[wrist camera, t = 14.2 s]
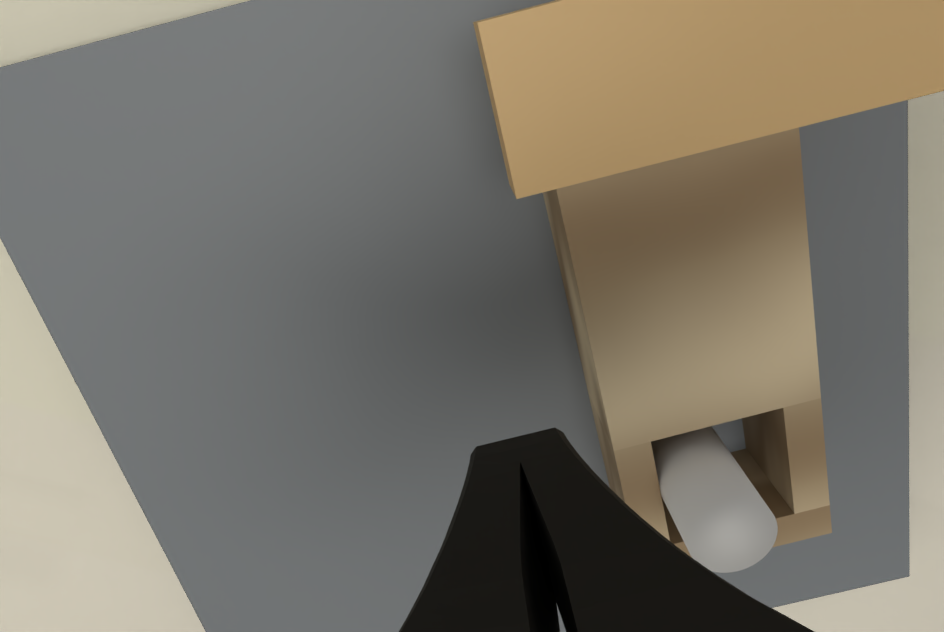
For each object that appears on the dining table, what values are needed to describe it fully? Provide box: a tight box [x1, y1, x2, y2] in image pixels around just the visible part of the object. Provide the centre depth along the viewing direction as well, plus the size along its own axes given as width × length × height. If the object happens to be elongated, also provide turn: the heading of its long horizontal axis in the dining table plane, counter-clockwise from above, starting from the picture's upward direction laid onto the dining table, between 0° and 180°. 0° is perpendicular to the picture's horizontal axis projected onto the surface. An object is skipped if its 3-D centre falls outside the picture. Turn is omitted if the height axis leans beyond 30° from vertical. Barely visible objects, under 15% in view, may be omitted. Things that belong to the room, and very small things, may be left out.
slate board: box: [0, 0, 944, 632], centre depth 18 cm, size 22×21×6 cm
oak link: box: [543, 128, 832, 557], centre depth 17 cm, size 14×5×3 cm, turn 15°
